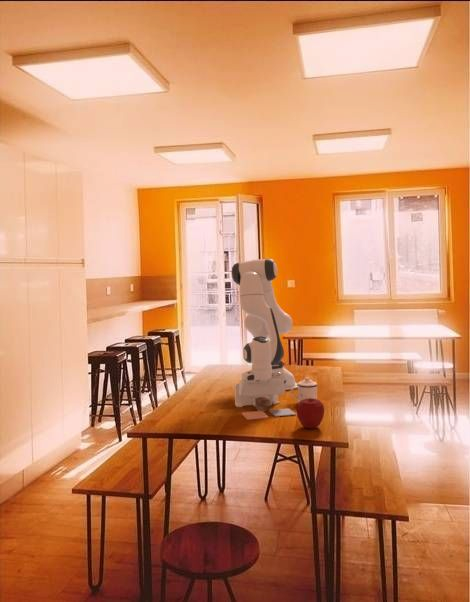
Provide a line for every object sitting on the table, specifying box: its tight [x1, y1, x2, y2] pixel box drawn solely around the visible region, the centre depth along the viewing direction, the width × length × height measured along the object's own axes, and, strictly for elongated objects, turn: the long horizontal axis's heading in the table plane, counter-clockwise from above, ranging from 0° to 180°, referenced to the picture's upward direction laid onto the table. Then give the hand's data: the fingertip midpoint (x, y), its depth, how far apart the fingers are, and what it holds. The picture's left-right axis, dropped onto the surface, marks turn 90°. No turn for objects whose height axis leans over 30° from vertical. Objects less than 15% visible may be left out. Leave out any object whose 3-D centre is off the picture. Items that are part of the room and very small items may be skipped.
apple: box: [295, 398, 325, 430], centre depth 198 cm, size 11×11×12 cm
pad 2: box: [268, 408, 297, 418], centre depth 218 cm, size 9×9×1 cm
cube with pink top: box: [254, 397, 271, 412], centre depth 226 cm, size 5×5×5 cm
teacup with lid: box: [290, 377, 318, 404], centre depth 234 cm, size 12×9×12 cm
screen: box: [234, 382, 280, 408], centre depth 234 cm, size 20×5×10 cm, turn 103°
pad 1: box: [241, 410, 269, 421], centre depth 216 cm, size 9×9×1 cm
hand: (262, 405), depth 226 cm, fingers closed on cube with pink top, 5 cm apart
